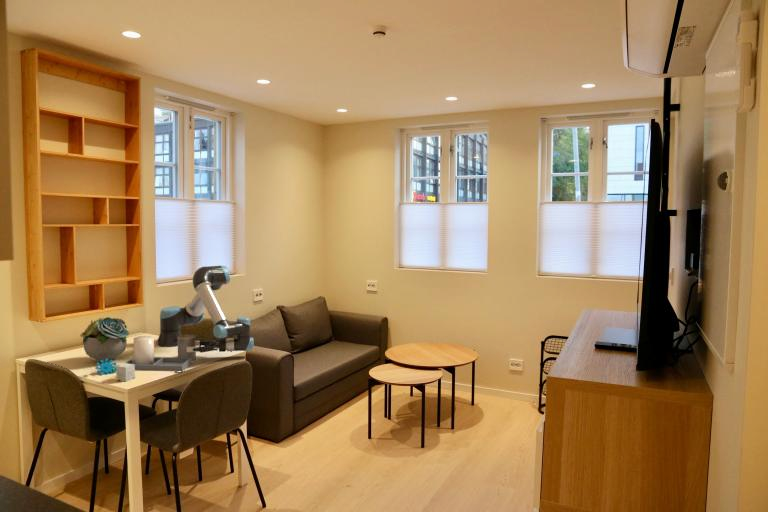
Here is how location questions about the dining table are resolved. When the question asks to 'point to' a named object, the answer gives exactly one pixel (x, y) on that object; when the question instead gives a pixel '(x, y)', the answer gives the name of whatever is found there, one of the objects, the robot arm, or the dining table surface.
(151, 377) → the dining table surface
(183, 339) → the pillar candle
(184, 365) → the tray
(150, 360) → the white candle
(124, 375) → the skincare box
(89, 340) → the flower arrangement
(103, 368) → the gear
